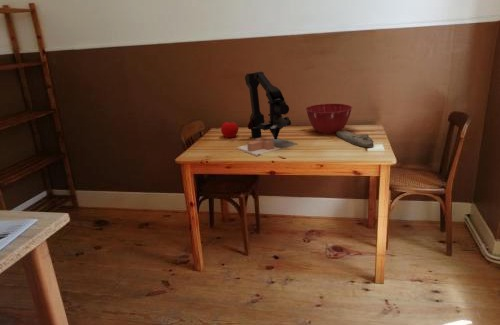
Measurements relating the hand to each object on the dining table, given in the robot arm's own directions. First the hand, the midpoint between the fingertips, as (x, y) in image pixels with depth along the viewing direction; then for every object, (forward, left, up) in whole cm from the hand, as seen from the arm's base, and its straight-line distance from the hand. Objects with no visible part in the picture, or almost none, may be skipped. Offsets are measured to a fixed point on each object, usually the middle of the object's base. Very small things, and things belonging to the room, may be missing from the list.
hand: (275, 139), depth 220 cm
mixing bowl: (-3, +44, -4) cm, 44 cm away
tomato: (-38, -8, -4) cm, 39 cm away
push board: (-1, -6, -4) cm, 7 cm away
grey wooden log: (+23, +38, -4) cm, 45 cm away
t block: (+1, -13, -3) cm, 13 cm away
